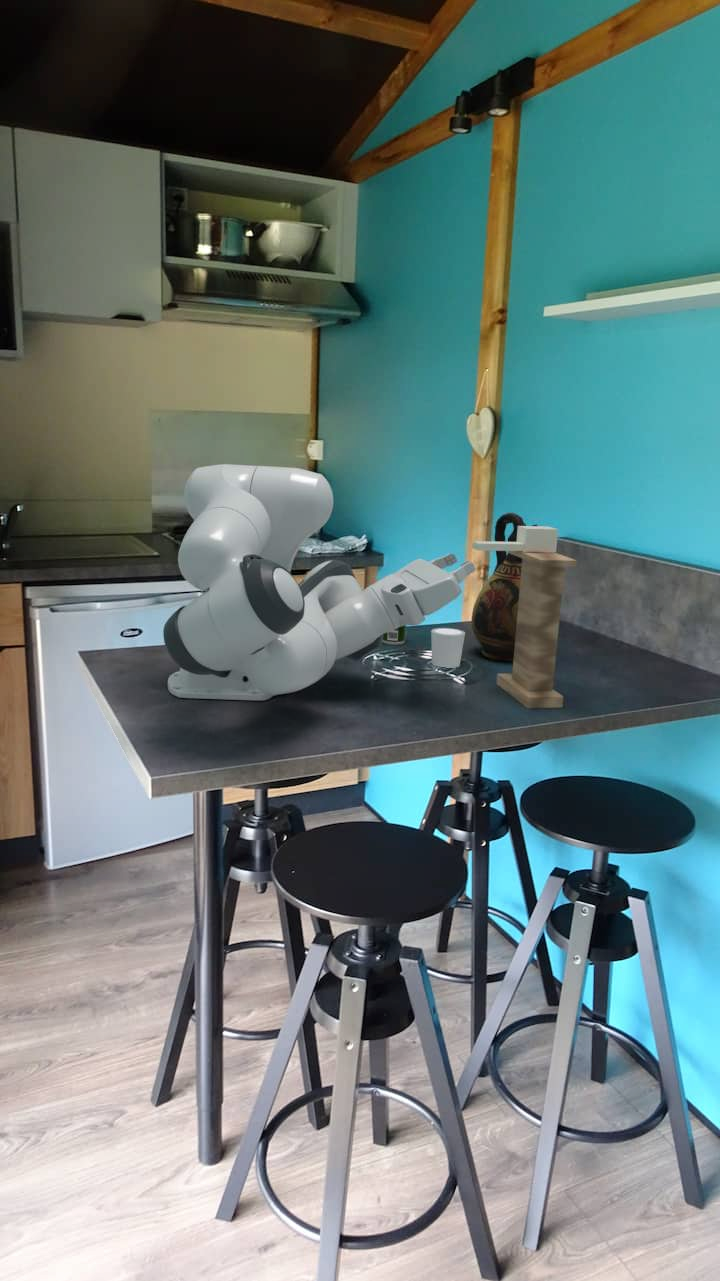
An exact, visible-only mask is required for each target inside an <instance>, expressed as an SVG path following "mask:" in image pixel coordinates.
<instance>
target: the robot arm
mask: <svg viewBox="0 0 720 1281" xmlns="http://www.w3.org/2000/svg"><path fill="white" fill-rule="evenodd" d="M183 492H184V493H183V498H184V505H185V507H186V510H187V513H189V515H190V517H191V518H192V519H193V522H191V525H190V526H189V528H188V529H187V531H186V533H185V534H184V537H183V539H182V541H181V544H180V547H179V550H178V556H177V562H178V564H177V565H178V568H179V571H180V573H181V576H182V577H183V578H184V580H186V581H187V582H188V583H189V585H191V586H192V587H194V588H195V589H198V590H200V593H201V594H200V595H198V596H197V597H196V598H194V599H193V600H192V601H190V602H189V603H188V604H187V605H182V606H181V607H179V608H178V609H177V610H175V611H174V612H173V613H172V614H171V616H170V617H169V618H168V619H167V621H166V622H165V624H164V625H163V635H162V636H163V641H164V642H163V643H164V646H165V649H166V651H167V654H168V656H169V657H170V658H171V660H172V661H173V662H174V664H175V665H177V666H178V667H179V670H178V671H175V672H173V673H172V674H170V675H169V677H168V679H167V689H168V692H169V693H171V695H173V696H175V697H177V698H181V699H182V698H183V699H207V700H209V699H210V700H233V701H234V700H235V701H236V700H237V701H266V700H269V699H271V698H272V697H274V696H278V695H284V694H290V693H295V692H298V691H300V690H304V689H305V688H308V687H309V686H312V685H313V684H315V683H317V682H318V681H320V680H322V678H323V677H325V676H326V675H327V673H329V672H330V671H331V669H332V668H333V666H334V664H335V661H338V660H340V659H343V658H347V659H349V660H354V661H358V660H360V659H361V658H362V657H363V656H365V655H366V654H368V653H370V652H372V651H373V650H375V649H377V648H380V647H382V644H383V642H382V640H383V634H384V633H387V632H391V631H393V630H395V629H397V628H399V627H400V626H405V625H406V626H412V627H413V626H415V627H416V626H419V625H420V624H423V623H424V622H425V621H426V616H430V615H432V614H434V613H436V612H437V611H439V610H441V609H442V608H444V607H445V606H447V605H449V604H450V603H451V602H453V601H454V600H456V599H457V598H458V597H459V595H461V593H462V588H461V587H460V586H461V585H460V584H461V583H462V582H463V581H464V580H465V579H466V578H467V577H468V576H469V575H471V574H472V573H474V572H475V571H476V566H475V565H474V563H473V562H472V561H470V560H469V561H465V562H463V563H462V564H460V566H459V567H458V568H457V569H456V570H451V571H450V572H448V571H447V570H444V569H446V568H447V567H452V566H453V565H455V564H457V563H458V558H457V557H456V555H455V554H454V553H452V552H450V553H447V554H446V555H443V556H441V557H437V558H434V559H431V561H427V560H425V559H423V558H418V559H414V560H413V561H411V562H409V563H408V564H406V565H405V566H403V567H402V568H399V570H397V571H396V572H394V573H389V574H388V575H386V576H385V577H383V578H381V579H379V580H378V581H376V582H374V583H372V584H371V585H368V586H367V587H366V588H365V589H362V588H361V585H359V582H358V581H357V578H356V575H355V573H354V572H353V569H352V567H351V565H350V564H348V563H346V562H344V561H341V560H337V559H333V560H327V561H324V562H321V563H319V564H318V565H317V566H315V567H313V568H312V569H311V570H310V571H309V572H308V574H306V576H305V577H304V579H302V581H300V582H299V583H298V581H297V579H296V578H295V577H294V575H293V574H292V573H291V570H292V566H293V562H294V560H295V558H296V555H297V553H298V551H299V549H300V548H301V547H302V545H303V544H304V543H305V542H306V541H307V540H308V539H309V538H310V537H311V536H312V535H313V534H315V533H316V532H317V531H319V530H320V529H322V528H323V527H324V526H325V525H326V523H327V522H328V521H329V519H330V518H331V514H332V513H333V512H332V511H333V509H334V495H333V489H332V487H331V485H330V483H329V482H328V480H327V479H326V477H325V476H324V475H323V474H321V473H318V472H314V471H310V470H307V469H302V468H299V467H286V466H284V467H283V466H270V465H269V466H267V465H247V464H246V465H245V464H232V463H231V464H229V463H223V464H221V463H220V464H214V465H213V464H212V465H207V466H201V467H197V468H195V469H194V470H193V472H191V474H190V475H189V477H188V479H187V481H186V483H185V486H184V490H183ZM202 592H203V593H202Z"/></svg>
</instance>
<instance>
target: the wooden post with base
mask: <svg viewBox="0 0 720 1281" xmlns="http://www.w3.org/2000/svg"><path fill="white" fill-rule="evenodd" d="M508 553H510V554H512V555H515V556H517V557H520V558H522V569H521V581H520V592H519V603H518V615H517V626H516V638H515V649H514V660H513V662H512V671H511V673H497V675H496V685H497V686H498V687H500V688H501V689H503V690H504V691H505V692H506V693H507V694H509V695H510V696H511V697H513V699H515V700H516V701H518V702H519V703H521V704H522V705H523V706H524V707H525V708H527V709H551V708H552V709H554V708H555V709H556V708H558V709H559V708H563V705H564V695H562V694H560V693H559V692H557V691H556V690H555V689H554V688H553V687H554V679H555V669H556V658H557V651H558V650H557V649H558V648H557V647H558V637H559V629H560V628H559V627H560V618H561V610H562V609H561V608H562V599H563V598H562V597H563V587H564V577H565V569H566V568H565V567H578V560H576V559H574V558H571V557H568V556H566V555H563V554H559V553H557V551H556V552H527V551H507V554H508Z"/></svg>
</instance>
